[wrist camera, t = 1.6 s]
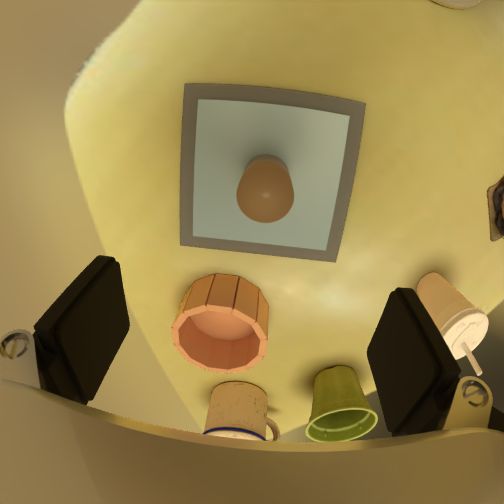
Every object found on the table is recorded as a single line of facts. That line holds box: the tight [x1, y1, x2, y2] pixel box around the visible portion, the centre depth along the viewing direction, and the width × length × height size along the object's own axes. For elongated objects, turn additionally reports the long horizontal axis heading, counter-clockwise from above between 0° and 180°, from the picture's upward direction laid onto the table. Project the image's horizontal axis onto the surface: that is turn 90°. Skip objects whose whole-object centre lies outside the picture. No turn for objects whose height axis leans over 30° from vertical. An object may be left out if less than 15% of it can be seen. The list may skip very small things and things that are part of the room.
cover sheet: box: [193, 99, 350, 251], centre depth 23 cm, size 13×13×7 cm
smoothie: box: [417, 272, 488, 376], centre depth 25 cm, size 6×6×14 cm
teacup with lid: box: [203, 382, 280, 442], centre depth 37 cm, size 12×9×12 cm
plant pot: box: [305, 366, 378, 442], centre depth 35 cm, size 9×9×9 cm
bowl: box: [172, 273, 269, 374], centre depth 32 cm, size 10×10×6 cm
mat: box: [180, 84, 366, 262], centre depth 26 cm, size 16×16×1 cm
